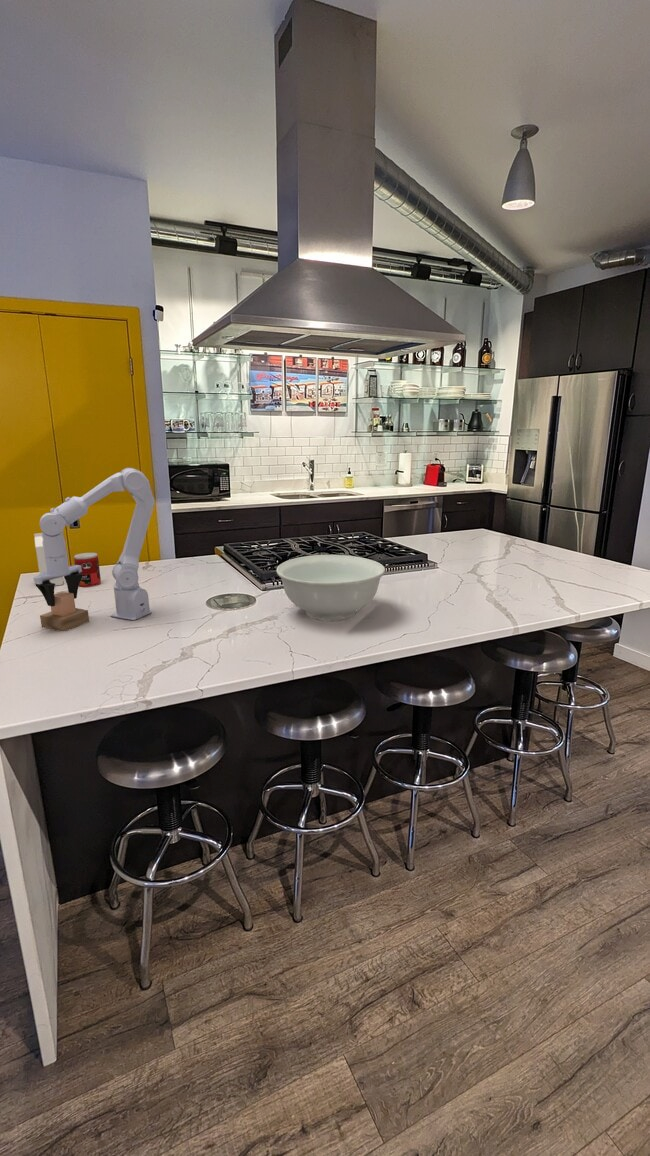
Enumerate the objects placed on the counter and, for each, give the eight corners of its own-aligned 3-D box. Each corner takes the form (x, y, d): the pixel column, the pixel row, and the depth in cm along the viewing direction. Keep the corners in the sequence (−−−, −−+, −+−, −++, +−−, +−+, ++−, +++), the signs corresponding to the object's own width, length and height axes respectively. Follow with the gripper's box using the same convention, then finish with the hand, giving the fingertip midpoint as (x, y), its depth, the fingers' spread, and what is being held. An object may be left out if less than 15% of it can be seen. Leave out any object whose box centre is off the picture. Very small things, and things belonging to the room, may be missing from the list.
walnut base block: (89, 623, 163) (87, 610, 162) (64, 633, 155) (62, 619, 154) (67, 618, 167) (65, 606, 165) (41, 628, 159) (39, 615, 158)
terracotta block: (75, 611, 161) (73, 593, 159) (63, 616, 157) (61, 597, 155) (64, 609, 162) (61, 591, 161) (51, 614, 158) (49, 596, 157)
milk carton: (42, 582, 204) (34, 532, 199) (63, 580, 207) (56, 530, 202) (41, 587, 198) (33, 535, 192) (63, 585, 200) (56, 533, 195)
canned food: (73, 585, 200) (69, 556, 197) (91, 580, 206) (87, 551, 203) (87, 588, 196) (83, 558, 193) (105, 582, 203) (102, 553, 200)
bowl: (377, 635, 150) (378, 584, 146) (264, 627, 157) (262, 578, 153) (388, 599, 181) (389, 556, 177) (293, 594, 187) (292, 552, 183)
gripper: (67, 549, 163) (73, 593, 167) (23, 560, 150) (30, 607, 154) (84, 551, 160) (90, 596, 164) (41, 562, 148) (48, 610, 151)
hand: (62, 601), depth 159 cm, fingers open, 7 cm apart
